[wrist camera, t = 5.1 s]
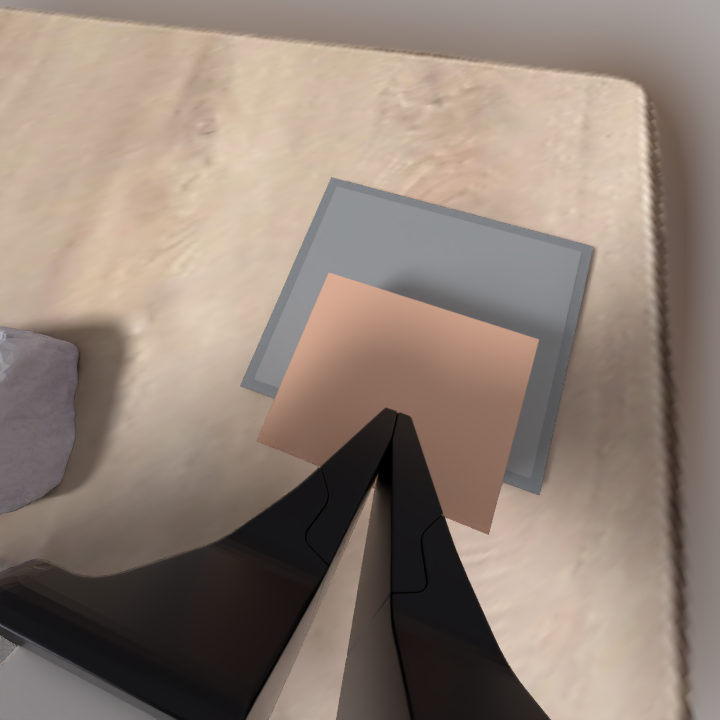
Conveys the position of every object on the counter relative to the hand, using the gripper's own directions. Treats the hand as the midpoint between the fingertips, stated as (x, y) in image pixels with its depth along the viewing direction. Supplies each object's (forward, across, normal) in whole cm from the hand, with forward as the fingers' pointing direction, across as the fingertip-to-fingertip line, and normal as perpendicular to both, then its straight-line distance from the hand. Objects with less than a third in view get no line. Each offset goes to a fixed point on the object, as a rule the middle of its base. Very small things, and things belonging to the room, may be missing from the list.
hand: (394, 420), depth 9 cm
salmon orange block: (+1, 0, +5) cm, 5 cm away
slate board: (+9, 0, +1) cm, 9 cm away
